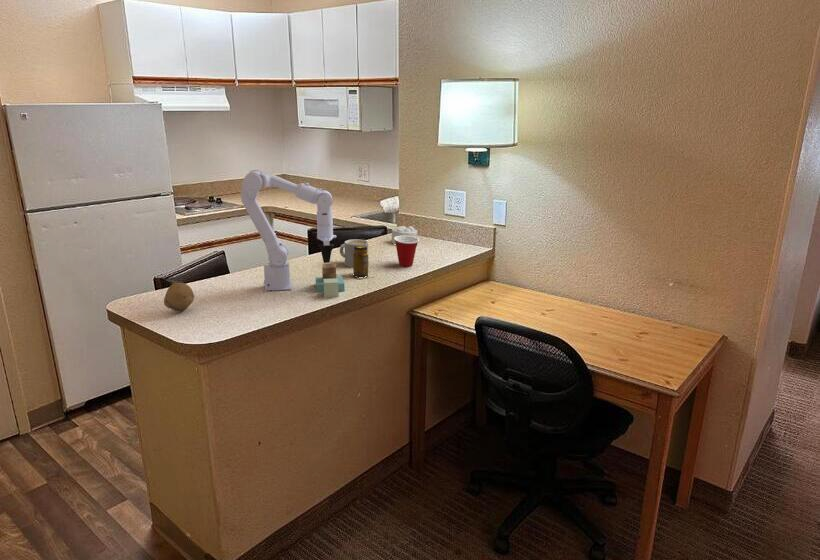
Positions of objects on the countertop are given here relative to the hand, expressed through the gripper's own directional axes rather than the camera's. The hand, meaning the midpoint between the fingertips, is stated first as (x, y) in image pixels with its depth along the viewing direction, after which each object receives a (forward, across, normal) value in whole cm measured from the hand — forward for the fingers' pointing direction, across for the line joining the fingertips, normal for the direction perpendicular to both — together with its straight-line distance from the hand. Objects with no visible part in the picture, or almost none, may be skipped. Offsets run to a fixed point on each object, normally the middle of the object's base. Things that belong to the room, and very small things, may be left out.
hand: (325, 259), depth 216 cm
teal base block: (+11, -2, -1) cm, 11 cm away
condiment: (+11, +12, -15) cm, 21 cm away
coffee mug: (+11, +30, -14) cm, 34 cm away
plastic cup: (+10, +24, -36) cm, 44 cm away
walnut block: (+7, -2, -1) cm, 8 cm away
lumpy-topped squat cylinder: (+10, +61, -42) cm, 75 cm away
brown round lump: (+11, -20, +49) cm, 54 cm away
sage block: (+10, -11, -1) cm, 15 cm away
